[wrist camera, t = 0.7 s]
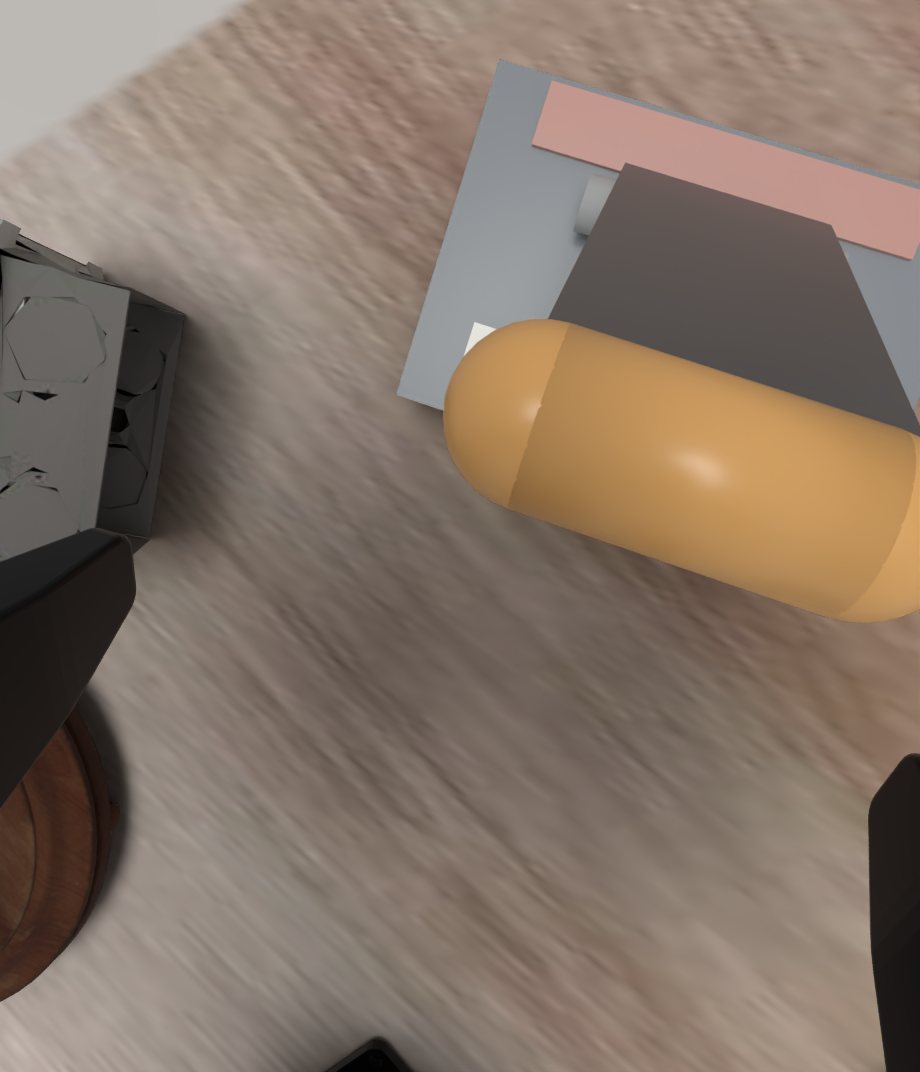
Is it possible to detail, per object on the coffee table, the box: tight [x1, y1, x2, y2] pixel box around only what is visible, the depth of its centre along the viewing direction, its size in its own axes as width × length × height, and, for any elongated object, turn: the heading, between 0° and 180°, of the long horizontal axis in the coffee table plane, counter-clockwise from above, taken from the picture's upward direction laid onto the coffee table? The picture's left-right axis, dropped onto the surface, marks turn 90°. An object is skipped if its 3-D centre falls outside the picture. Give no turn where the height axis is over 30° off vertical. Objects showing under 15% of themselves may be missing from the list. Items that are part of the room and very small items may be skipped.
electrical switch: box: [0, 219, 184, 561], centre depth 23 cm, size 9×5×9 cm, turn 167°
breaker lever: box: [443, 162, 920, 623], centre depth 15 cm, size 3×7×14 cm, turn 72°
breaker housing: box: [396, 59, 920, 411], centre depth 23 cm, size 9×13×4 cm
